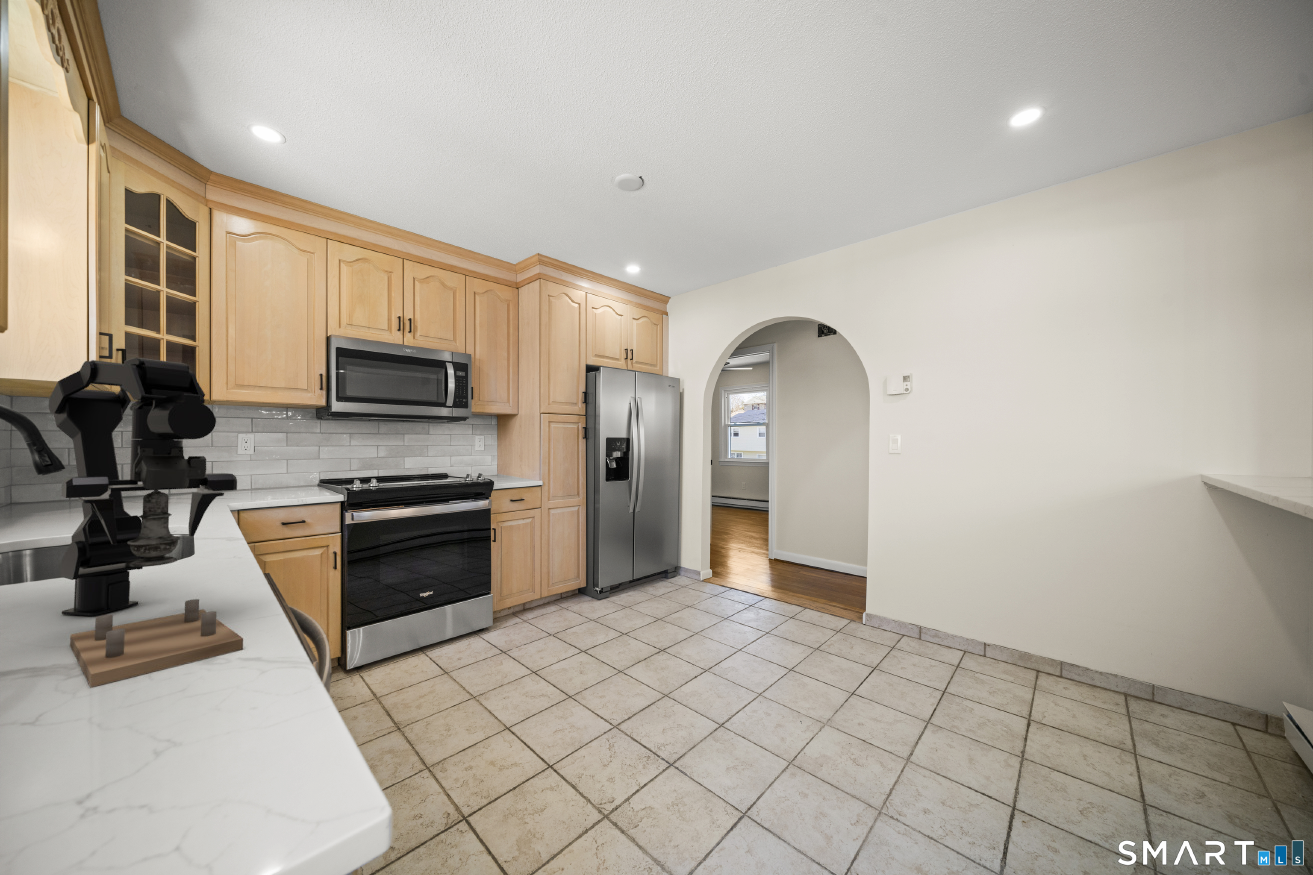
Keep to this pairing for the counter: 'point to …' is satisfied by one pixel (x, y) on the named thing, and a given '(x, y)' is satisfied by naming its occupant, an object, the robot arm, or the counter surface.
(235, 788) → the counter surface
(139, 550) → the dark grey turned piece
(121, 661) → the peg board
